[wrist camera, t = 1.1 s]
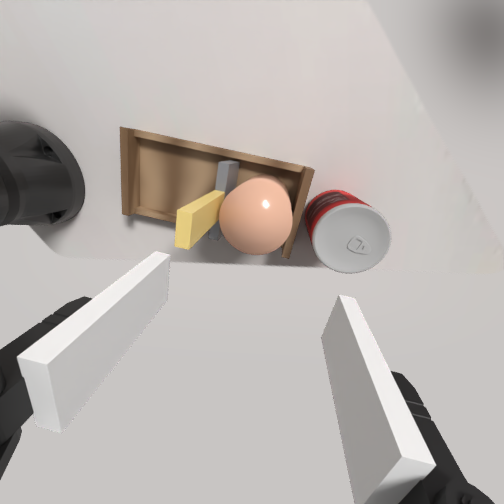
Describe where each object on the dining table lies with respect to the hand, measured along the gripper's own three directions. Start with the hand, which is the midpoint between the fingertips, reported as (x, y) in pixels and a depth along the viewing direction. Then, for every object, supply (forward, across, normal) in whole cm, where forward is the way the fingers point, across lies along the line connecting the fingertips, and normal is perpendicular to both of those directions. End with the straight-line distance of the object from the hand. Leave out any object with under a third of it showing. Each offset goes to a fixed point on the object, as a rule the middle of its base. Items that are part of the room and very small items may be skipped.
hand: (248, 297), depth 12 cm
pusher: (+25, -6, 0) cm, 26 cm away
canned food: (+26, +9, 0) cm, 27 cm away
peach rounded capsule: (+25, -1, 0) cm, 25 cm away
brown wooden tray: (+25, -8, 0) cm, 27 cm away
